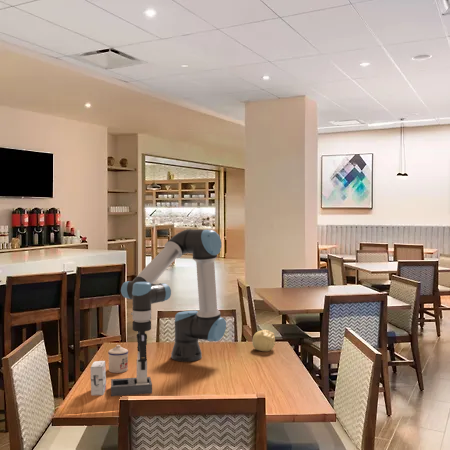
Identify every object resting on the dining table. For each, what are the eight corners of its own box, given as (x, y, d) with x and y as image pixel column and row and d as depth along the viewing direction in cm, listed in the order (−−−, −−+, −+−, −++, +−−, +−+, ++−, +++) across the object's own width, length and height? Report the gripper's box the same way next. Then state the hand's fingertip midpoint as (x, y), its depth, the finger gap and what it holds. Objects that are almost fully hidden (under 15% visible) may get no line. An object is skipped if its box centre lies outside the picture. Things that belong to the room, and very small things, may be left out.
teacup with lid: (123, 374, 237) (123, 348, 236) (104, 372, 239) (104, 347, 239) (134, 366, 248) (134, 341, 248) (116, 364, 251) (116, 340, 250)
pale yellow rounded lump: (272, 353, 271) (273, 333, 271) (250, 351, 275) (250, 331, 274) (276, 348, 282) (277, 328, 282) (255, 346, 286) (255, 326, 285)
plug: (146, 387, 218) (146, 354, 217) (147, 390, 214) (147, 357, 213) (136, 388, 217) (136, 355, 216) (137, 391, 213) (137, 358, 212)
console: (150, 386, 221) (150, 376, 221) (152, 394, 211) (152, 384, 211) (111, 388, 217) (111, 378, 217) (111, 397, 208) (111, 386, 208)
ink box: (93, 389, 217) (93, 360, 217) (106, 389, 217) (106, 360, 217) (90, 396, 208) (90, 366, 208) (103, 396, 209) (103, 366, 208)
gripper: (131, 314, 226) (131, 363, 226) (133, 327, 201) (133, 382, 202) (148, 313, 227) (148, 362, 228) (153, 326, 203) (153, 381, 204)
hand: (141, 372), depth 215 cm, fingers open, 13 cm apart
